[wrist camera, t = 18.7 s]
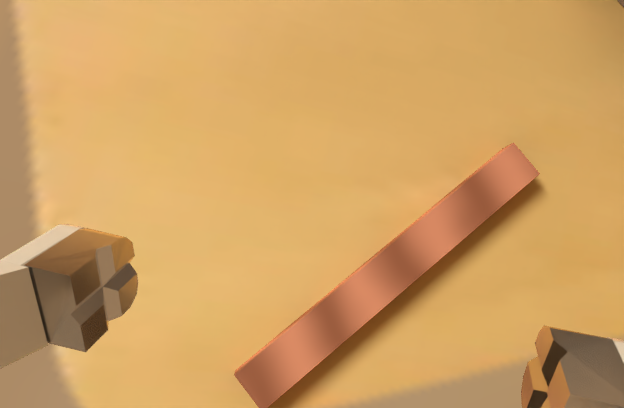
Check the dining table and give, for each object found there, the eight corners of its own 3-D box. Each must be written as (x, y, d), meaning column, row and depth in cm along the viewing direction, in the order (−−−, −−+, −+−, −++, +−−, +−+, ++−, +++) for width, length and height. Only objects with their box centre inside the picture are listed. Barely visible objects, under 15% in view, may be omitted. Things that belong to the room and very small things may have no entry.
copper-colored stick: (262, 403, 32) (262, 412, 30) (236, 368, 32) (234, 374, 30) (524, 179, 36) (539, 173, 34) (500, 149, 36) (513, 142, 34)
